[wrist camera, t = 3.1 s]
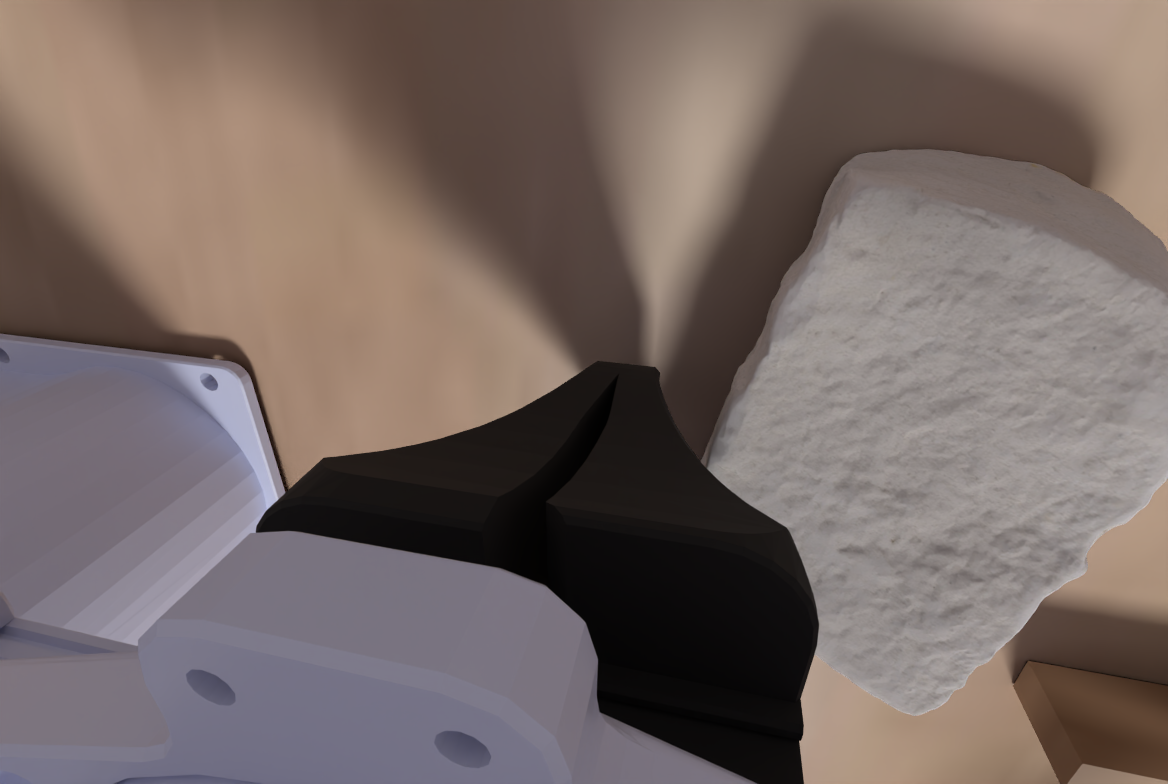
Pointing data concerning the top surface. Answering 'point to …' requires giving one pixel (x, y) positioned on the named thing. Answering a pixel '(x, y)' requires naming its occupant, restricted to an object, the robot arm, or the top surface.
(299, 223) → the top surface
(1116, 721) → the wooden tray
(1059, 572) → the white rough stone
